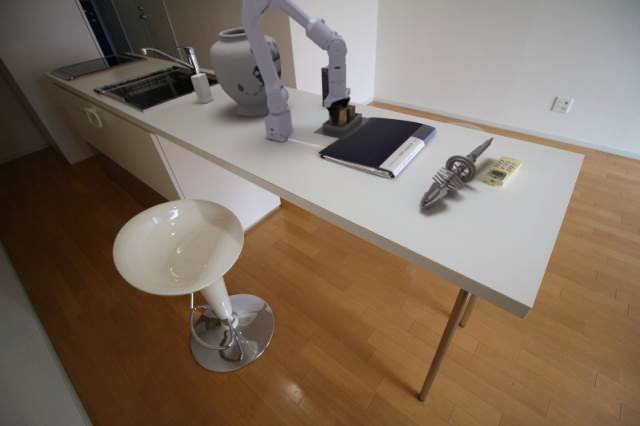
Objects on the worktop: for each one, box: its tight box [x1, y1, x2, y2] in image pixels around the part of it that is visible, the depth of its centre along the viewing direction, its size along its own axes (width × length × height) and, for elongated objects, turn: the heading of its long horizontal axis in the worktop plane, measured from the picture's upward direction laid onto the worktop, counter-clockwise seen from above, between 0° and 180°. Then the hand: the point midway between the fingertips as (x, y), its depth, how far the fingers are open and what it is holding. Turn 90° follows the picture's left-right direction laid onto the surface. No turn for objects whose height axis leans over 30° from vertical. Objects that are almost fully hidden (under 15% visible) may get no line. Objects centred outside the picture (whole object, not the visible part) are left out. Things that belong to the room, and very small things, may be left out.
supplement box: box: [320, 65, 329, 107], centre depth 119 cm, size 9×5×16 cm, turn 143°
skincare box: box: [190, 73, 214, 104], centre depth 135 cm, size 6×4×12 cm
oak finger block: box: [328, 107, 346, 126], centre depth 101 cm, size 4×5×6 cm
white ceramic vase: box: [209, 26, 282, 118], centre depth 117 cm, size 27×27×30 cm
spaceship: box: [418, 137, 495, 210], centre depth 73 cm, size 8×35×8 cm
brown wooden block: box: [346, 103, 356, 120], centre depth 105 cm, size 4×5×6 cm
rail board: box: [313, 112, 371, 140], centre depth 105 cm, size 20×13×4 cm, turn 147°
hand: (338, 120), depth 102 cm, fingers closed on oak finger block, 4 cm apart
